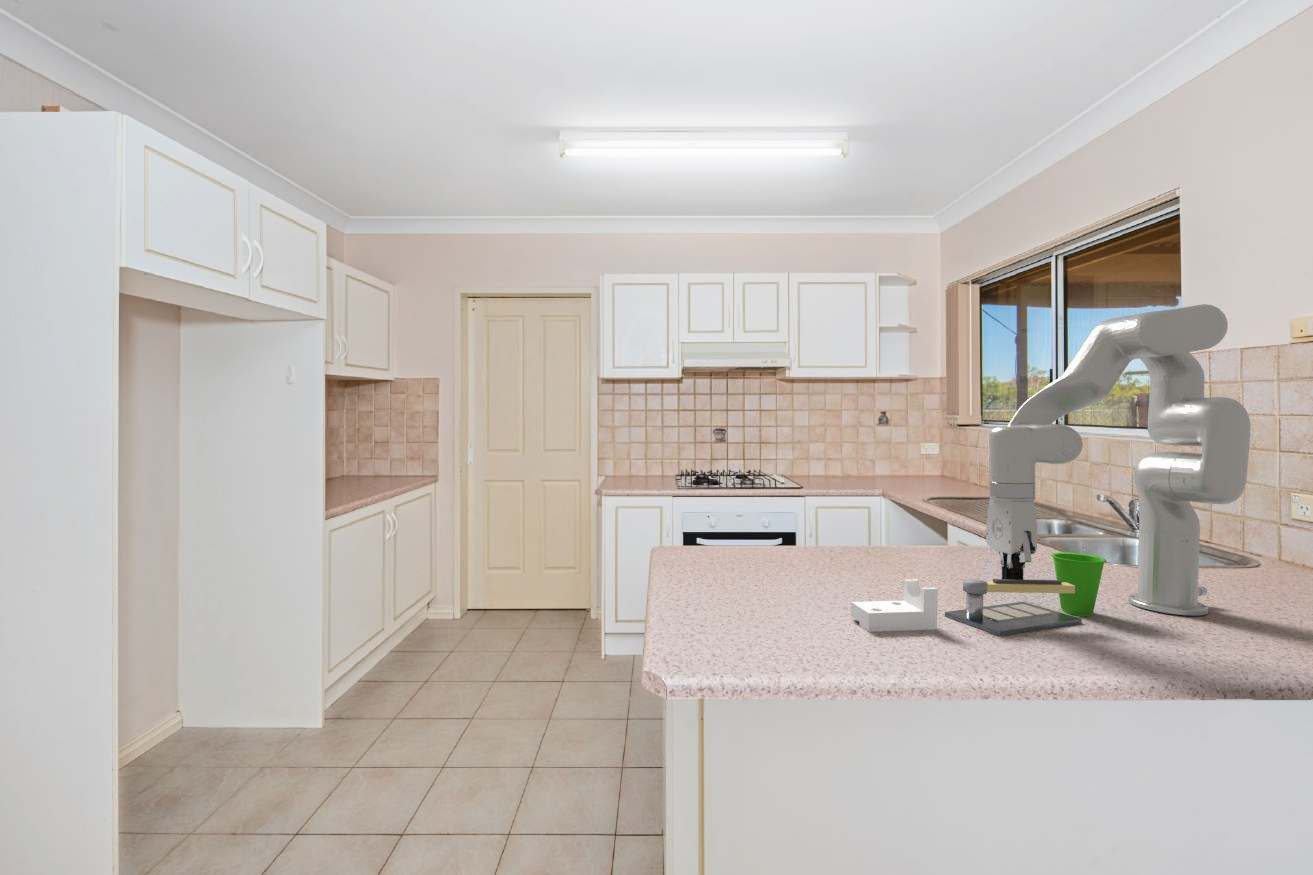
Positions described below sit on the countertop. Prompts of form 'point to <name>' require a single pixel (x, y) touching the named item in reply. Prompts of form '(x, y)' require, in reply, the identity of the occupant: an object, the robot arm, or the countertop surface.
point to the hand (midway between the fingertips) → (1012, 587)
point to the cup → (1079, 581)
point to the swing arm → (1017, 586)
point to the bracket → (900, 610)
